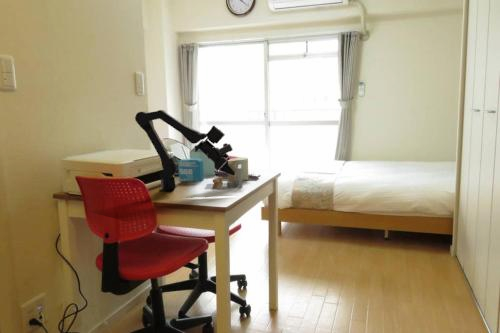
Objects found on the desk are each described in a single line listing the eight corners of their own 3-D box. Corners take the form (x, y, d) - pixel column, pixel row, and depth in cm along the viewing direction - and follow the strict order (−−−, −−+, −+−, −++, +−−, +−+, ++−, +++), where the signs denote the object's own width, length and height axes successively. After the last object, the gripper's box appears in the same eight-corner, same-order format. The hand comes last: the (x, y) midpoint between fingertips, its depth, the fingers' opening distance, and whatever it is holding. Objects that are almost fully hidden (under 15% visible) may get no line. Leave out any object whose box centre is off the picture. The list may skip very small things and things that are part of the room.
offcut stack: (212, 188, 178) (212, 180, 178) (214, 183, 188) (214, 176, 187) (221, 187, 178) (221, 180, 178) (223, 183, 188) (222, 176, 187)
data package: (179, 182, 200) (177, 160, 198) (183, 181, 204) (181, 158, 202) (201, 183, 197) (199, 159, 195) (204, 181, 201) (202, 158, 199)
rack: (204, 191, 177) (203, 169, 176) (207, 185, 189) (206, 165, 188) (242, 189, 177) (241, 168, 176) (242, 184, 189) (242, 164, 188)
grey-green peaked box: (186, 177, 215) (184, 142, 212) (191, 174, 223) (188, 140, 220) (214, 177, 212) (212, 141, 209) (218, 174, 220) (216, 139, 217)
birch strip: (228, 186, 182) (227, 160, 180) (228, 184, 184) (227, 160, 182) (236, 185, 182) (235, 160, 180) (236, 184, 184) (235, 159, 182)
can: (235, 178, 204) (233, 156, 202) (251, 179, 201) (250, 156, 199) (228, 182, 196) (227, 159, 194) (245, 182, 193) (244, 159, 191)
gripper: (220, 140, 170) (246, 163, 172) (223, 136, 189) (246, 158, 190) (203, 158, 172) (229, 181, 173) (208, 153, 190) (231, 174, 192)
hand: (235, 173), depth 182 cm, fingers open, 8 cm apart
